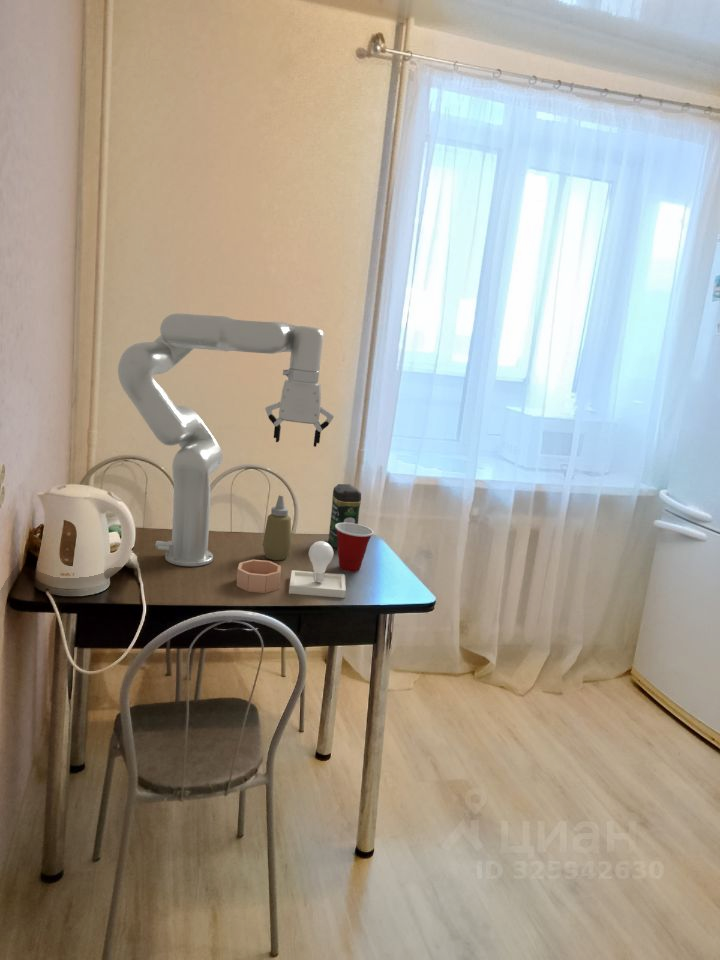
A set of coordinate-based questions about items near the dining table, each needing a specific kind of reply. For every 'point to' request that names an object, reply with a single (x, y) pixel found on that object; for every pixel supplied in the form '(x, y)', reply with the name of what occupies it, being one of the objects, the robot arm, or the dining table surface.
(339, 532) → the plastic cup
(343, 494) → the coffee jar
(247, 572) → the terracotta octagonal ring
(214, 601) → the dining table surface
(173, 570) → the dining table surface
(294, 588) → the tray
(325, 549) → the lightbulb
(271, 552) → the squeeze bottle
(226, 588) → the dining table surface
